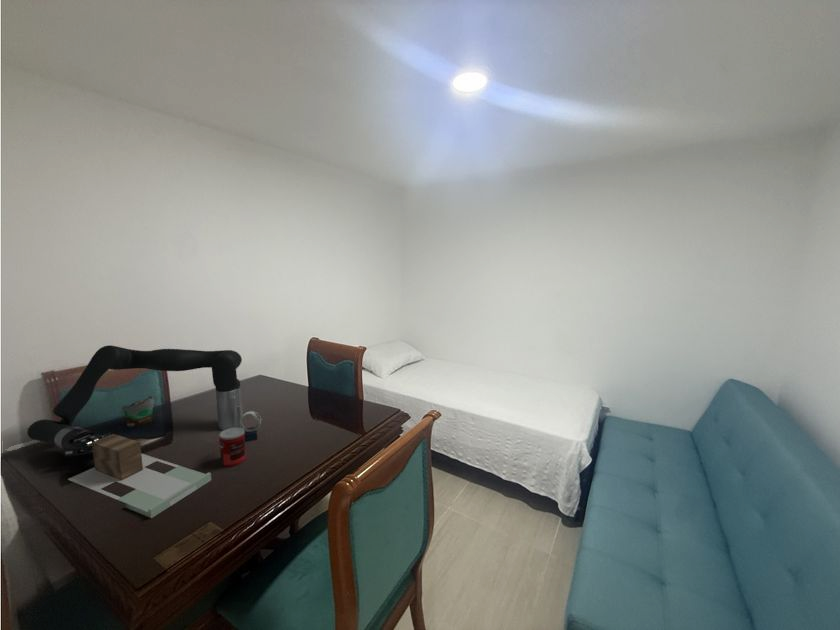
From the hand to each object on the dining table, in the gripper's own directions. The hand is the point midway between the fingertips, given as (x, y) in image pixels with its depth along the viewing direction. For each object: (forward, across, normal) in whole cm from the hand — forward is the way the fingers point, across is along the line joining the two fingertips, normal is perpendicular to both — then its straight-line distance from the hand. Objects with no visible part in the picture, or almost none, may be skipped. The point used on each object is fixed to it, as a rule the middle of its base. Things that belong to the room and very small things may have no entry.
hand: (104, 448), depth 112 cm
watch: (+28, +35, +8) cm, 45 cm away
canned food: (+35, +20, +8) cm, 41 cm away
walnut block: (+7, 0, +6) cm, 9 cm away
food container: (-26, +26, +8) cm, 38 cm away
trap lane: (+18, 0, +8) cm, 19 cm away
